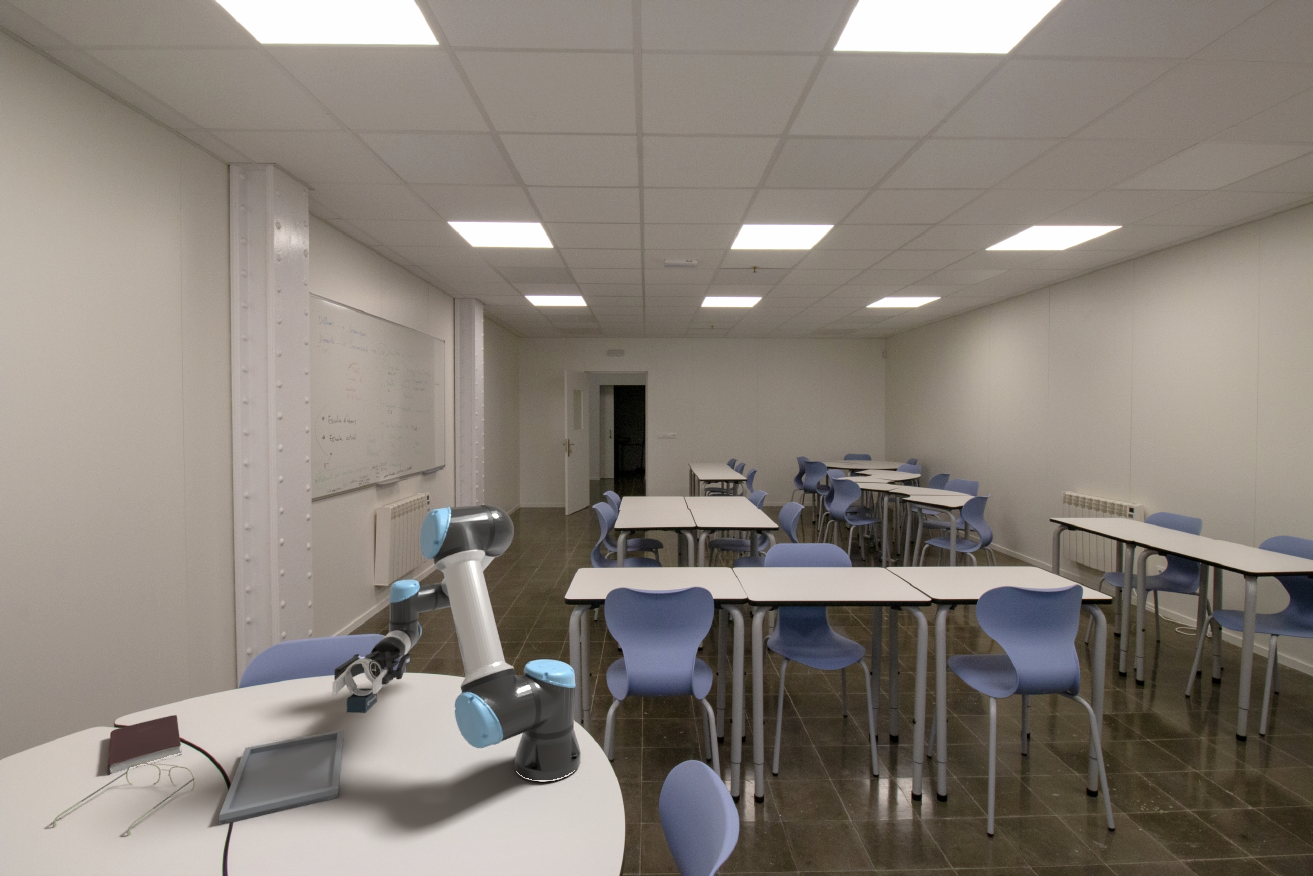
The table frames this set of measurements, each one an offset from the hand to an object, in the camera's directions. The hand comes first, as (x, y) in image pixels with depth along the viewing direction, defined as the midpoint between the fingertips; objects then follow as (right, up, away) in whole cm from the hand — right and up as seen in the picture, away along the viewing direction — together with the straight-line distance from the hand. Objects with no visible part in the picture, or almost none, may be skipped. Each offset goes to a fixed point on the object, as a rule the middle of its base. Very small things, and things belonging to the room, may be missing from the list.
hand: (354, 688), depth 129 cm
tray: (-13, -18, -3) cm, 22 cm away
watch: (-1, -7, +5) cm, 8 cm away
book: (-54, -18, +7) cm, 57 cm away
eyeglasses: (-37, -18, -14) cm, 44 cm away
